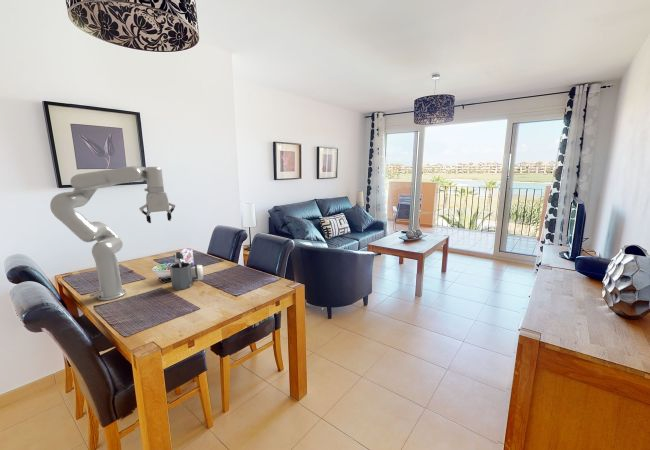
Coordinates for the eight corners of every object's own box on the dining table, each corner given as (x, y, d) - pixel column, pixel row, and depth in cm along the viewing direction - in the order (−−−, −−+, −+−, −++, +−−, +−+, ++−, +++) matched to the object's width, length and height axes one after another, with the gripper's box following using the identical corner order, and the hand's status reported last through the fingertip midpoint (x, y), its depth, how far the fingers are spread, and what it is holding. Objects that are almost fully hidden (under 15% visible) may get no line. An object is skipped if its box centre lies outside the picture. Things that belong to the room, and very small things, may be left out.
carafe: (176, 291, 162) (173, 269, 159) (170, 286, 169) (167, 265, 167) (201, 284, 172) (199, 264, 169) (194, 279, 179) (192, 260, 176)
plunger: (177, 288, 164) (173, 255, 160) (173, 284, 169) (169, 252, 165) (191, 284, 169) (188, 252, 165) (186, 280, 174) (183, 249, 170)
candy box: (185, 279, 180) (182, 254, 177) (175, 278, 181) (173, 254, 177) (195, 271, 194) (193, 248, 191) (186, 271, 194) (184, 248, 191)
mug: (193, 281, 176) (192, 269, 174) (188, 277, 183) (187, 265, 181) (205, 278, 181) (204, 266, 179) (199, 274, 187) (198, 263, 186)
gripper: (138, 191, 144) (143, 224, 147) (175, 189, 156) (178, 220, 159) (135, 190, 149) (139, 222, 152) (171, 189, 161) (174, 218, 164)
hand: (159, 221), depth 156 cm, fingers open, 9 cm apart
